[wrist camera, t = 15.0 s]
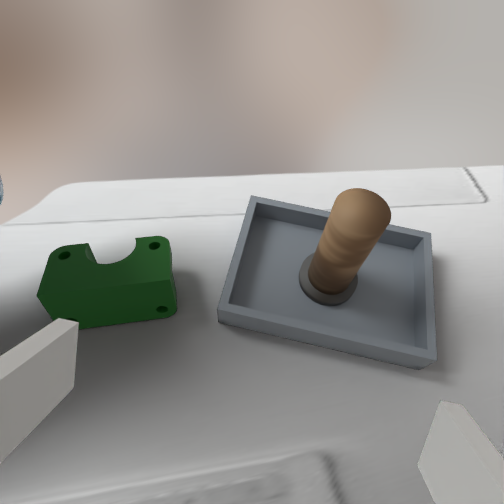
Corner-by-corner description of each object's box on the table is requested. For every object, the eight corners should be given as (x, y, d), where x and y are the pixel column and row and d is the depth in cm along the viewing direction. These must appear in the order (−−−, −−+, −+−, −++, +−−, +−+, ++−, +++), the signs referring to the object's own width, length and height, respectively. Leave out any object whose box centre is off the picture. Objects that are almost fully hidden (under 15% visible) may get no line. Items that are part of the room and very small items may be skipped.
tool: (294, 298, 36) (319, 233, 26) (303, 250, 39) (328, 174, 29) (352, 311, 36) (401, 250, 26) (356, 261, 39) (401, 189, 29)
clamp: (164, 293, 42) (186, 238, 36) (164, 337, 38) (189, 282, 32) (49, 278, 37) (55, 212, 32) (34, 326, 33) (38, 260, 27)
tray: (218, 322, 36) (217, 309, 33) (249, 214, 43) (251, 195, 40) (418, 369, 34) (436, 360, 31) (416, 249, 41) (430, 233, 38)
